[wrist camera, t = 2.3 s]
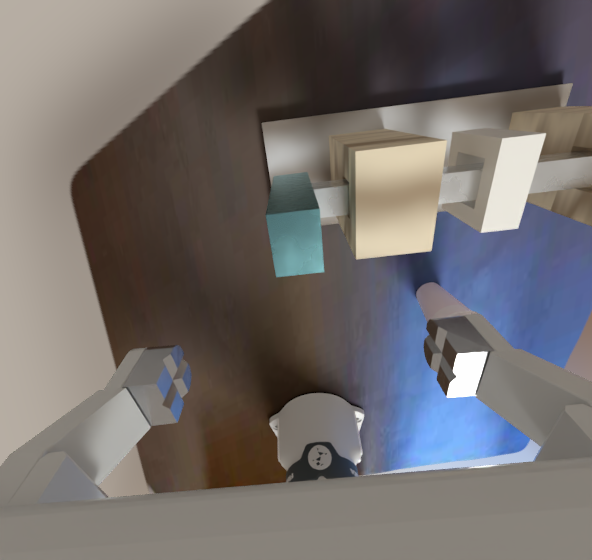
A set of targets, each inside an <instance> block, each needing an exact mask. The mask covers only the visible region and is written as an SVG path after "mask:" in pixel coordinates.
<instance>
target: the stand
mask: <svg viewBox="0 0 592 560" xmlns="http://www.w3.org/2000/svg"><path fill="white" fill-rule="evenodd" d="M572 85H573V83H570V84H560V85H552V86H545V87H537V88H529V89H521V90H513V91H505V92H498V93H490V94H482V95H474V96H466V97H458V98H451V99H443V100H435V101H427V102H419V103H411V104H404V105H396V106H388V107H380V108H372V109H364V110H357V111H349V112H341V113H333V114H325V115H317V116H310V117H302V118H294V119H286V120H278V121H270V122H263V123H262V129H263V136H264V143H265V149H266V156H267V162H268V169H269V176H270V182H271V187H272V182H273V177H274V176H279V175H287V174H295V173H303V172H308V175H309V178H310V181H311V183H316V182H324V181H332V180H341V179H347V181H348V182H349V210H350V215H342V216H333V217H325V218H320V219H321V225H329V224H337V223H339V224H340V226H341V228H342V230H343V233H344V235H345V237H346V239H347V241H348V243H349V245H350V248H351V250H352V252H353V254H354V256H355V258H356V259H364V258H373V257H382V256H391V255H401V254H410V253H419V252H428V251H432V244H433V237H434V230H435V223H436V216H437V212H441V211H445V210H444V209H442V208H441V206H442V204H438V202H439V195H440V188H441V181H442V174H443V167H447V166H448V159H449V153H450V146H451V139H452V132H457V131H465V130H473V129H481V128H493V129H505V130H516V131H528V132H540V133H546V136H545V139H544V143H543V146H542V150H541V153H540V155H549V154H557V153H565V152H574V151H582V150H590V149H592V106H570V107H566V104H567V101H568V97H569V94H570V91H571V88H572ZM526 202H529V203H532V204H534V205H537V206H540V207H542V208H545V209H548V210H550V211H553V212H555V213H558V214H561V215H563V216H566V217H569V218H571V219H574V220H577V221H579V222H582V223H584V224H587V225H590V226H592V187H583V188H575V189H566V190H557V191H549V192H540V193H531V194H528V197H527V200H526Z"/></svg>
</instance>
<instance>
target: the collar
mask: <svg viewBox="0 0 592 560" xmlns="http://www.w3.org/2000/svg"><path fill="white" fill-rule="evenodd" d="M545 136H546V133H540V132H528V131H516V130H505V129H493V128H481V129H473V130H465V131H457V132H452V139H451V146H450V153H449V159H448V166H447V167H449V166H457V165H465V164H474V163H482V162H484V165H483V170H482V174H481V179H480V184H479V189H478V194H477V198H476V200H471V201H463V202H454V203H445V204H442V206H441V208H442V209H444V210H445V211H447V212H449V213H450V214H452V215H453V216H455V217H457V218H458V219H460V220H461V221H463V222H464V223H466V224H468V225H469V226H471V227H472V228H474V229H476V230H477V231H479V232H480V233H483V232H492V231H501V230H510V229H518V227H519V224H520V220H521V217H522V213H523V210H524V207H525V203H526V200H527V197H528V193H529V190H530V187H531V183H532V180H533V176H534V173H535V170H536V166H537V163H538V160H539V156H540V153H541V150H542V146H543V143H544V139H545Z"/></svg>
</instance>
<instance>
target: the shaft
mask: <svg viewBox="0 0 592 560" xmlns="http://www.w3.org/2000/svg"><path fill="white" fill-rule="evenodd" d="M483 165H484V162H482V163H474V164H465V165H457V166H449V167H443V174H442V181H441V188H440V195H439V202H438V204H445V203H454V202H463V201H471V200H476V198H477V194H478V189H479V184H480V179H481V174H482V170H483ZM583 187H592V149H590V150H582V151H574V152H565V153H557V154H549V155H540V156H539V160H538V163H537V166H536V170H535V173H534V176H533V180H532V183H531V187H530V190H529V193H528V194H531V193H540V192H549V191H557V190H566V189H575V188H583ZM342 215H350V210H349V182H348V181H347V179H341V180H332V181H324V182H316V183H311V181H310V178H309V175H308V172H303V173H295V174H287V175H279V176H274V177H273V182H272V187H271V192H270V196H269V201H268V206H267V211H266V220H267V226H268V231H269V237H270V243H271V249H272V255H273V261H274V267H275V273H276V277H283V276H292V275H301V274H310V273H319V272H324V262H323V248H322V233H321V219H320V218H325V217H333V216H342Z"/></svg>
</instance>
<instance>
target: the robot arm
mask: <svg viewBox="0 0 592 560" xmlns="http://www.w3.org/2000/svg"><path fill="white" fill-rule="evenodd" d="M426 329H427V331H428V332H429V335H428V336H427V337H426V338H425V340H424V353H425V357H426V360H427V363H428V364H429V366H430V368H431V369H433V370H434V371H436V372H437V373H438V375H437V381H438V383H439V384H440V386H441V388H442V390H443V392H444V393H445V395H446V397H462V396H476V398H478V399H479V400H480V401H482V402H483V403H484V404H485V405H487V406H488V407H489V408H491V409H492V410H493V411H495V412H496V413H497V414H499V415H500V416H501V417H503V418H504V419H505V420H507V421H508V422H509V423H510V424H512V425H513V426H514V427H516V428H517V429H518V430H520V431H521V432H522V433H524V434H525V435H526V436H528V437H529V438H530V439H531V440H533V441H534V442H536V443H537V444H538V445H539V446H541V448H540V450H539V452H538V453H537V455H536V457H535V459H534V461H533V462H523V463H510V464H499V465H487V466H476V467H465V468H452V469H441V470H429V471H417V472H405V473H393V474H382V475H369V476H359V475H358V470H357V467H356V464H357V463H359V462H360V461H361V456H362V447H361V441H360V436H359V431H360V428H361V425H362V421H363V418H364V411H363V409H361V408H358V407H355V406H352V405H350V404H349V403H348V402H347V401H345V400H344V399H342V398H340V397H338V396H336V395H332V394H327V393H311V394H306V395H302V396H299V397H297V398H295V399H293V400H291V401H290V402H288V403H287V404H286V405H285V406H284V407H283V409H282V410H281V411H280V412H279V413H277V414H275V415H274V416H272V417H271V418H270V419H269V423H270V426H271V428H272V430H273V431H274V433H275V435H276V436H277V438H278V461H279V462H281V465H282V466H283V467H284V468H285V469H286V471H287V473H286V483H275V484H263V485H251V486H240V487H228V488H216V489H205V490H193V491H181V492H170V493H158V494H146V495H136V496H135V495H134V496H123V497H111V498H108V496H107V495H106V494H105V493H104V492H103V491H102V490H101V489H100V488H99V487H98V486H99V485H100V484H101V483H102V481H103V480H104V479H105V478H106V477H107V476H108V475H109V473H110V472H111V471H112V470H113V469H114V468H115V467H116V466H117V465H118V463H119V462H120V461H121V460H122V459H123V458H124V456H125V455H127V453H128V452H129V451H130V450H131V449H132V448H133V447H134V446H135V444H136V443H137V442H138V441H139V440H140V439H141V438H142V437H143V436H144V434H145V433H146V432H147V431H148V430H149V429H150V428H151V427H150V426H154V425H163V424H171V423H177V422H178V419H179V416H180V414H181V411H182V408H183V405H184V403H183V401H182V397H183V396H184V395H185V394H186V393H187V392H188V391H189V387H190V384H191V370H190V367H189V364H188V363H187V362H186V361H184V360H183V359H182V357H183V354H184V353H183V351H182V349H181V347H180V346H178V345H173V346H160V347H148V348H138V349H132V350H131V351H129V352H128V354H127V355H126V357H125V358H124V360H123V361H122V363H121V364H120V366H119V367H118V369H117V370H116V372H115V373H114V375H113V376H112V378H111V380H110V381H109V383H108V384H107V386H106V387H105V389H104V390H99V391H97V392H96V393H94V394H93V395H92V396H90V397H89V398H88V399H86V400H85V401H83V402H82V403H81V404H79V405H78V406H76V407H75V408H74V409H72V410H71V411H70V412H68V413H67V414H65V415H64V416H63V417H61V418H60V419H58V420H57V421H56V422H54V423H53V424H52V425H50V426H49V427H47V428H46V429H45V430H43V431H42V432H41V433H39V434H38V435H37V436H35V437H34V438H32V439H31V440H29V441H28V442H27V443H25V444H24V445H23V446H21V447H20V448H18V449H17V450H16V451H14V452H13V453H11V454H10V455H9V456H8V458H7V459H6V460H5V461H4V463H3V464H2V465H1V466H0V560H592V382H591V381H589V380H587V379H585V378H582V377H580V376H578V375H576V374H574V373H572V372H569V371H567V370H565V369H563V368H561V367H558V366H556V365H554V364H552V363H550V362H547V361H545V360H543V359H541V358H539V357H537V356H534V355H532V354H530V353H528V352H526V351H523V350H521V349H514V348H513V347H512V346H511V345H510V344H509V343H508V342H507V341H506V340H505V339H504V338H503V337H502V336H501V335H500V333H499V332H498V331H497V330H496V329H495V328H494V327H493V326H492V325H491V324H490V323H489V322H488V321H487V320H486V319H485V318H484V317H483V316H482V315H480V314H478V313H477V314H469V315H462V316H454V317H445V318H436V319H429V321H428V323H427V328H426Z"/></svg>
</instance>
